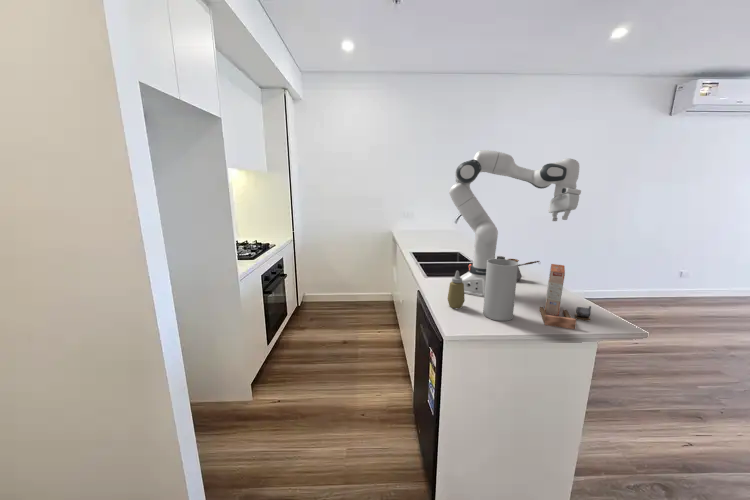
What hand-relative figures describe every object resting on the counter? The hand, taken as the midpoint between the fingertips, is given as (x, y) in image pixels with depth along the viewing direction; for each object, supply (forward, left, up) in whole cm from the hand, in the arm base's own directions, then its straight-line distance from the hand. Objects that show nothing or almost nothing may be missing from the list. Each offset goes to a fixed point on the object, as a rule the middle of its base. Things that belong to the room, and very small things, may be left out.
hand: (559, 220), depth 150 cm
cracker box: (-1, -17, -41) cm, 44 cm away
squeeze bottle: (-45, -29, -41) cm, 67 cm away
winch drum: (+9, -23, -41) cm, 48 cm away
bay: (-2, -28, -41) cm, 49 cm away
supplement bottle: (-24, +37, -41) cm, 60 cm away
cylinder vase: (-26, -33, -41) cm, 58 cm away
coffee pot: (-13, +25, -41) cm, 50 cm away
